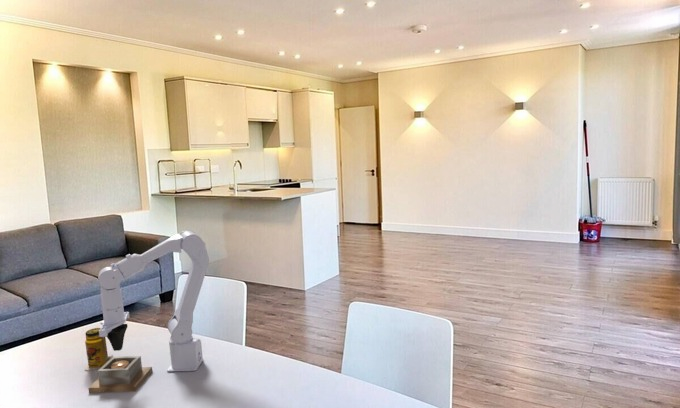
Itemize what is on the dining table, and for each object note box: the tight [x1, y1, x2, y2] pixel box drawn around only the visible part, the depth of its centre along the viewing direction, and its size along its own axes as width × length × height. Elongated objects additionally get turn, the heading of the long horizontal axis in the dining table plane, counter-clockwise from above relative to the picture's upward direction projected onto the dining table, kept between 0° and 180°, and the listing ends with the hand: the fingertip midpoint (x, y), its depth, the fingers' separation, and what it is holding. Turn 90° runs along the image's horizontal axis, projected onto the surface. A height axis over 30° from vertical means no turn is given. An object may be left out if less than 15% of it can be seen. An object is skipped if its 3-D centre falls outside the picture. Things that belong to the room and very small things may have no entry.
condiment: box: [84, 327, 114, 371], centre depth 159 cm, size 7×8×12 cm
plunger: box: [111, 360, 129, 369], centre depth 146 cm, size 6×6×4 cm
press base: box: [87, 355, 153, 394], centre depth 146 cm, size 14×12×6 cm
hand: (118, 349), depth 145 cm, fingers closed
